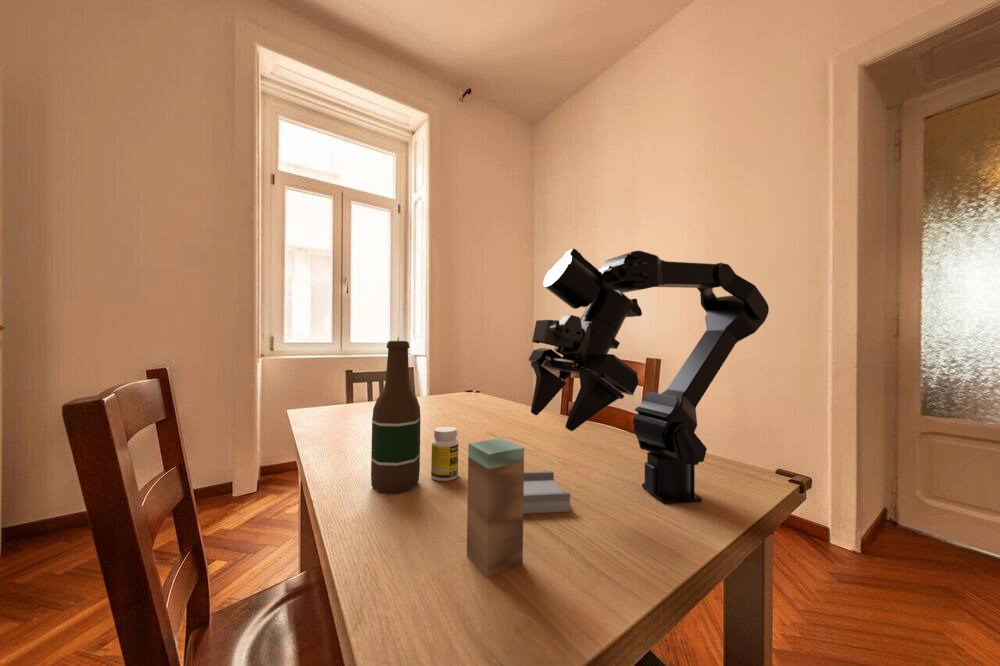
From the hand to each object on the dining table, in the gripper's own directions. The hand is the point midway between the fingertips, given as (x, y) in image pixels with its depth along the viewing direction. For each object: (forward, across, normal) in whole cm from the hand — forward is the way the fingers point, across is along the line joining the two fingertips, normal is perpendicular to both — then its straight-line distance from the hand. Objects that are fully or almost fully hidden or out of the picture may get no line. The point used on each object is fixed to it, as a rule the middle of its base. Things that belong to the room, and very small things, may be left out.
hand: (549, 421), depth 50 cm
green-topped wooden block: (+17, +6, -2) cm, 18 cm away
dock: (+12, -6, +6) cm, 15 cm away
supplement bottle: (+17, -19, -1) cm, 26 cm away
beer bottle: (+21, -19, -8) cm, 29 cm away
